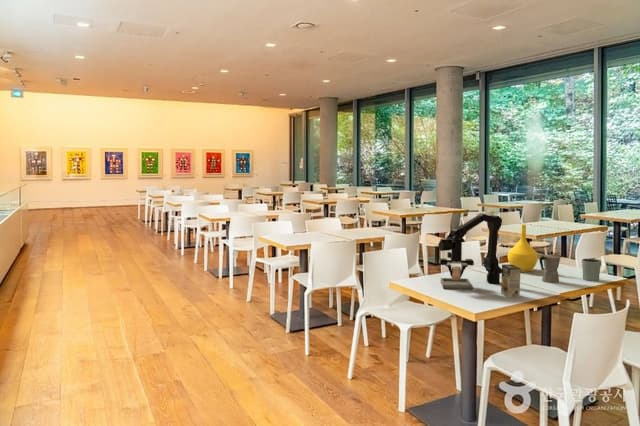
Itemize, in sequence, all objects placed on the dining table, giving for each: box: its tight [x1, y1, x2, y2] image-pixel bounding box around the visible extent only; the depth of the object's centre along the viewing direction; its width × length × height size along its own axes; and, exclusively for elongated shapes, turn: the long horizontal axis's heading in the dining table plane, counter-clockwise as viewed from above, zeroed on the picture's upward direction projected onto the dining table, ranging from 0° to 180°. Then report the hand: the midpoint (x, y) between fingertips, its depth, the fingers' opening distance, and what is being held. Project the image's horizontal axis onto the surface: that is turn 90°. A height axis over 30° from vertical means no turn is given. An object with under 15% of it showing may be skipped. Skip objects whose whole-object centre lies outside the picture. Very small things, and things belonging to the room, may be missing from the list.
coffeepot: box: [538, 250, 562, 284], centre depth 293 cm, size 15×9×18 cm, turn 110°
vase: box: [507, 224, 539, 273], centre depth 322 cm, size 18×18×30 cm
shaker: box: [451, 265, 462, 280], centre depth 285 cm, size 5×5×7 cm
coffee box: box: [500, 263, 522, 299], centre depth 264 cm, size 9×6×16 cm
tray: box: [440, 277, 473, 291], centre depth 286 cm, size 16×16×2 cm
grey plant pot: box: [581, 258, 602, 282], centre depth 296 cm, size 10×10×12 cm
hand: (456, 276), depth 285 cm, fingers closed on shaker, 5 cm apart
